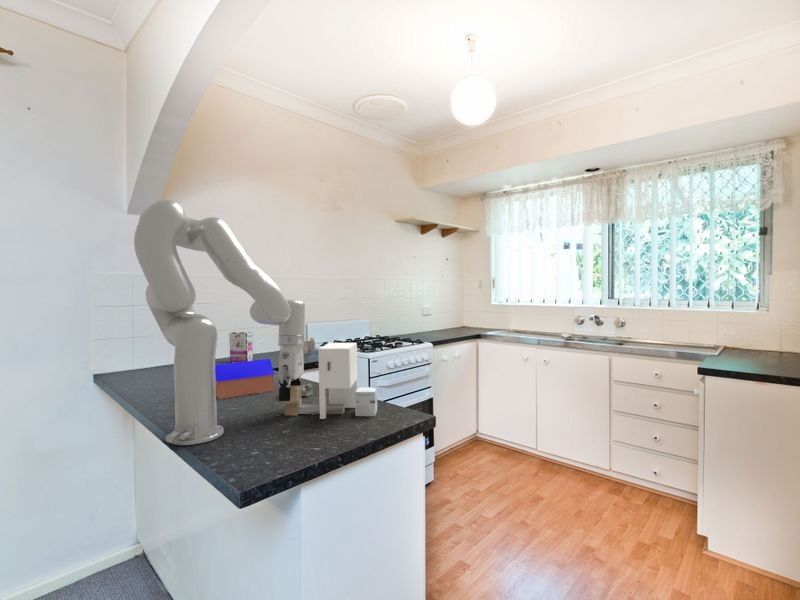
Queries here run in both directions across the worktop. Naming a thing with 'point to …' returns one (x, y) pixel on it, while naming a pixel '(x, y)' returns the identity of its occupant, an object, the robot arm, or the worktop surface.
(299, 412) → the push stick
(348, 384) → the cabinet
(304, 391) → the egg carton
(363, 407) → the skincare box
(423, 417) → the worktop surface
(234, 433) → the worktop surface
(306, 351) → the ruin model on sheet
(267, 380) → the house
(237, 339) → the candy bar box
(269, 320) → the robot arm
